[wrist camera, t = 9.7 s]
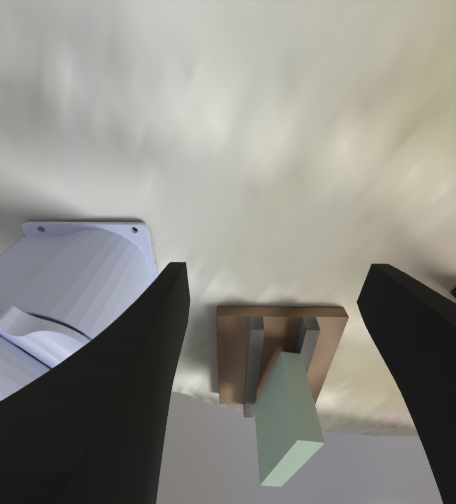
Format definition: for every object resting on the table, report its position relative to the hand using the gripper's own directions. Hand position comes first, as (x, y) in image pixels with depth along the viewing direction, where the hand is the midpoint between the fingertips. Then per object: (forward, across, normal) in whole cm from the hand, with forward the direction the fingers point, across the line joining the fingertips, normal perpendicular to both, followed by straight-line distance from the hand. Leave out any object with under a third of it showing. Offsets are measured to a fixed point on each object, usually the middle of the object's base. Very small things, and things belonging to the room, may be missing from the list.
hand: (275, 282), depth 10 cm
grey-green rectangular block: (+7, -3, +19) cm, 20 cm away
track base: (+9, -3, +19) cm, 21 cm away
